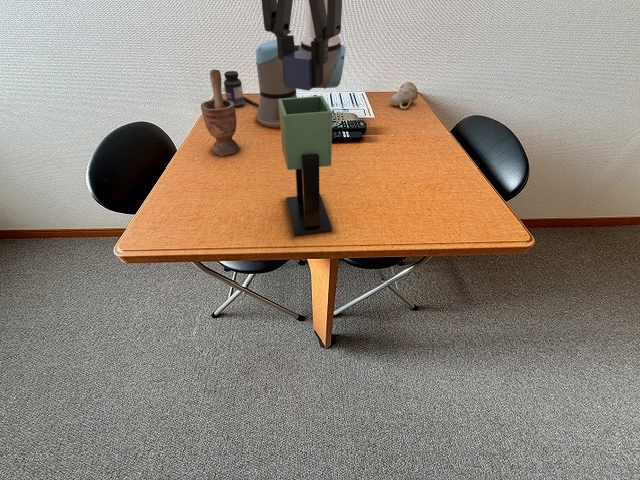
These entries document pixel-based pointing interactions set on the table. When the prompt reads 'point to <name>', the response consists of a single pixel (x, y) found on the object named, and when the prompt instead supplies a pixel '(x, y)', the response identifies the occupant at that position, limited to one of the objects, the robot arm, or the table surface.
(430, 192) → the table surface
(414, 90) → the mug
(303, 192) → the stand
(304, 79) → the block
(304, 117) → the green square planter
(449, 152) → the table surface
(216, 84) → the mortar and pestle
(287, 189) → the table surface
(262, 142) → the table surface
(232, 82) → the pill bottle
